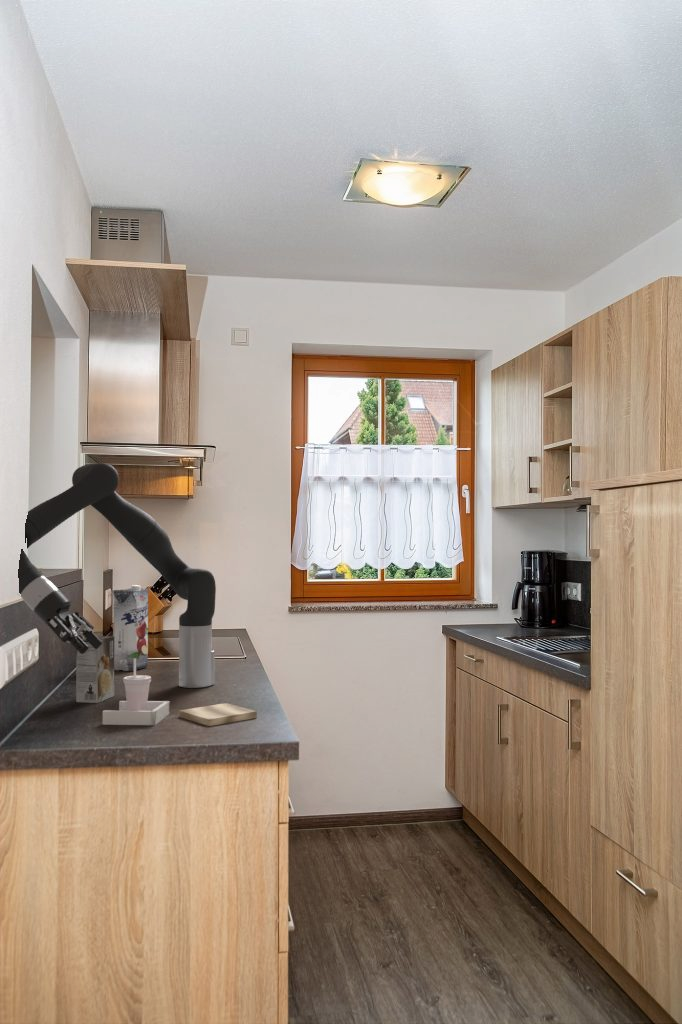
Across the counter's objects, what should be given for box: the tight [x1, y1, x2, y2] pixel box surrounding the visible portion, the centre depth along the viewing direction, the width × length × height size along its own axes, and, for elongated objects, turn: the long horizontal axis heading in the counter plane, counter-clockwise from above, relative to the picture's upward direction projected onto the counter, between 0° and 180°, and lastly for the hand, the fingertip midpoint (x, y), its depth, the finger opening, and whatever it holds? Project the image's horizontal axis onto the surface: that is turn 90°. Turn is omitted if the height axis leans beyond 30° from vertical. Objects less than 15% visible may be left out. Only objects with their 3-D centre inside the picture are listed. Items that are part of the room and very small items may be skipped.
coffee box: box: [75, 635, 115, 704], centre depth 215 cm, size 9×6×16 cm
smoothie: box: [122, 658, 152, 711], centre depth 191 cm, size 6×6×14 cm
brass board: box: [178, 702, 258, 727], centre depth 193 cm, size 13×13×2 cm
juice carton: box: [112, 584, 149, 672], centre depth 265 cm, size 9×10×27 cm
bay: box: [102, 700, 171, 726], centre depth 191 cm, size 12×12×3 cm
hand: (92, 648), depth 192 cm, fingers open, 8 cm apart
